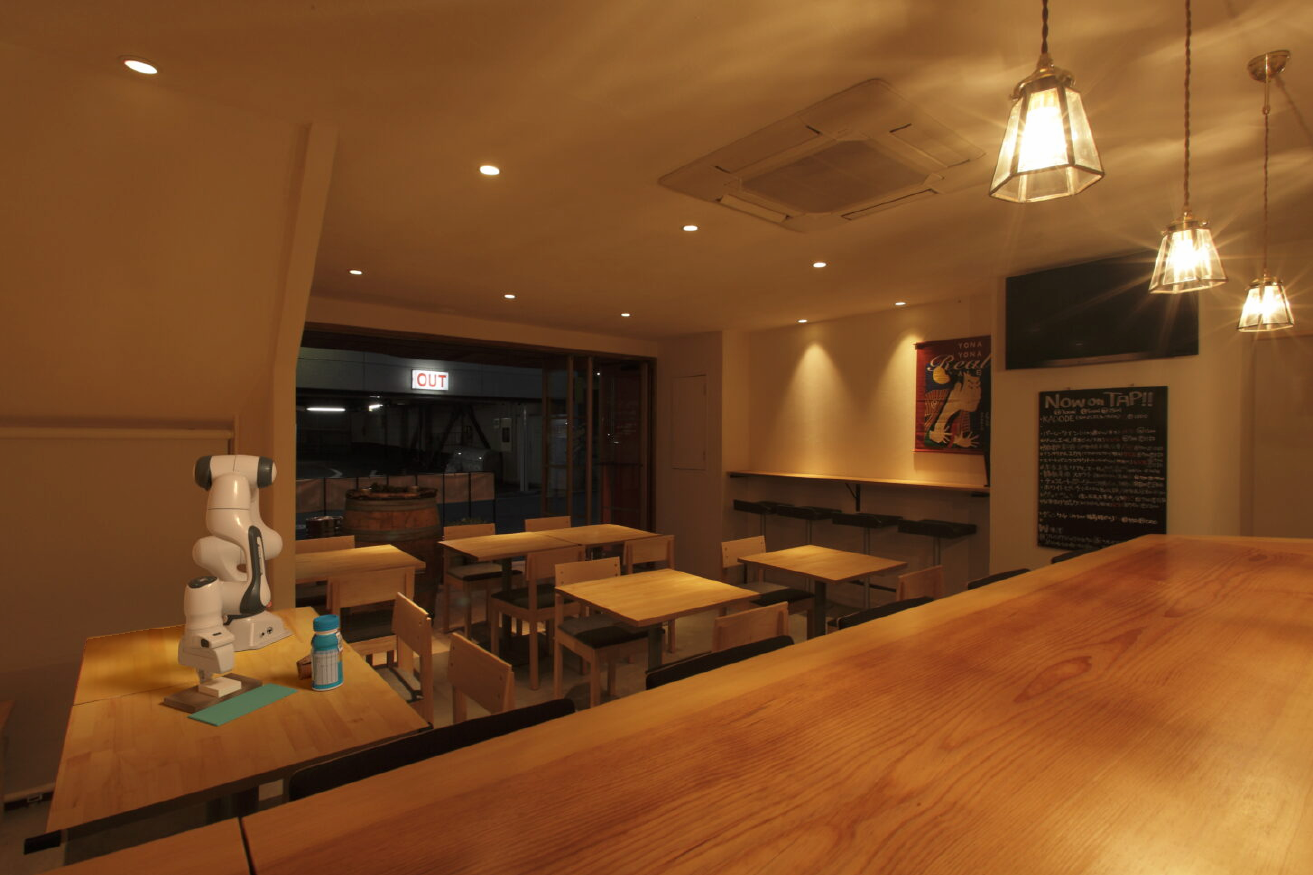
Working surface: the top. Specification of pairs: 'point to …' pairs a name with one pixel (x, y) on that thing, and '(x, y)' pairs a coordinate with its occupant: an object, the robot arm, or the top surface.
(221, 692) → the tile
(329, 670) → the beverage bottle
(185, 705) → the brown wooden board
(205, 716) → the mat
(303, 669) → the sunglasses case
